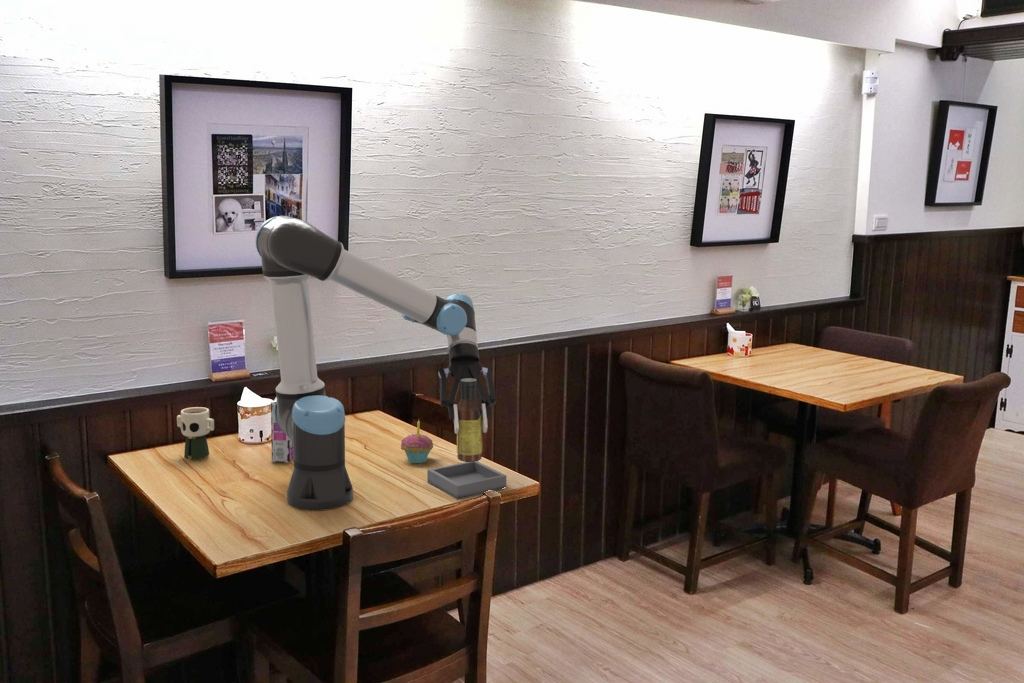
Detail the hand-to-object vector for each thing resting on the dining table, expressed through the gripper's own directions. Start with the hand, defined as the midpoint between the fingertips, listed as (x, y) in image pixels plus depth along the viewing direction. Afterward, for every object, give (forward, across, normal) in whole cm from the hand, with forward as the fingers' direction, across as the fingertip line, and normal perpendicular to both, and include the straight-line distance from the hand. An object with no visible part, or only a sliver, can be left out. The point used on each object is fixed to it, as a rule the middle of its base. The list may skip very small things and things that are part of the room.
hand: (471, 430), depth 220 cm
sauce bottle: (+4, 0, -9) cm, 9 cm away
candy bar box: (-11, +46, -33) cm, 57 cm away
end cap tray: (+8, +1, -13) cm, 15 cm away
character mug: (-12, +68, -34) cm, 77 cm away
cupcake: (-6, +11, -28) cm, 30 cm away
